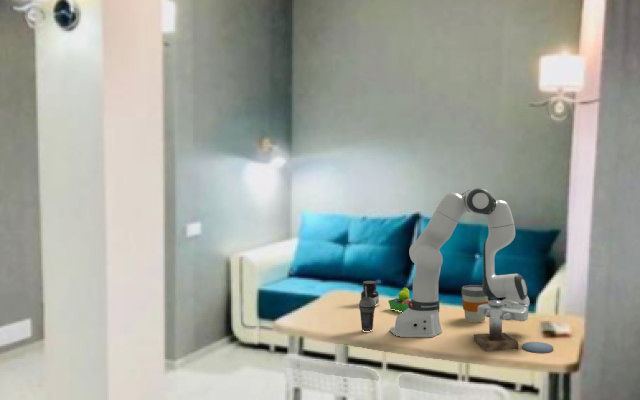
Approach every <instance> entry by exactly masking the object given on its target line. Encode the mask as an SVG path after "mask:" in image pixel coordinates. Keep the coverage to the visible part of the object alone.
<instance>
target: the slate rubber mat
mask: <svg viewBox="0 0 640 400" xmlns="http://www.w3.org/2000/svg"><path fill="white" fill-rule="evenodd" d="M521 346H522V347H521V348H522V350H524V351H527V352H530V353H533V354H534V353H535V354H547V353H552V352H553V351H554V346H553V345H552V344H549V343H546V342H540V341H528V342H524V343H522V344H521Z"/></svg>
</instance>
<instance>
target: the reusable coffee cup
mask: <svg viewBox="0 0 640 400" xmlns="http://www.w3.org/2000/svg"><path fill="white" fill-rule="evenodd" d="M461 296H462V299H461V301H462V302H461V303H462V309H463V312H464V320H465V321H467V322H469V323H482V322H485V321H486V316H484V315H479V314H478V306H479V305H482V304H488V301H489V300H490V299H489V297H487V296H486V295H485V294H484V293H483V289H482V285H479V284H468V285H463V286H462V287H461Z"/></svg>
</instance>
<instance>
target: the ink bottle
mask: <svg viewBox="0 0 640 400" xmlns="http://www.w3.org/2000/svg"><path fill="white" fill-rule="evenodd" d="M365 286H366V291H367V296H368V297H371V298H372V299H373V300H374V302H375V305H376V304H378V303H379V300H380V299H379V297H380V293H379V291H377V281H376V280H375V281H374V280H365V281H362V289H363V290H362V292H361V293H360V300H361V299H362V298H363V297H366V293H365ZM379 304H380V303H379Z"/></svg>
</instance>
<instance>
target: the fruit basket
mask: <svg viewBox="0 0 640 400" xmlns="http://www.w3.org/2000/svg"><path fill="white" fill-rule="evenodd" d="M397 295H398V297H395V298H393V299H389V300H388V301H387V302H388V304H389V307H390V310H391V309H395V310H399V311H402V312H404V311H405V310H406V309H408V304H406V303H405V300H406V299H409V300H410V290H409V289H408V287H403V288H402V289H401V291H399V292H398V294H397Z"/></svg>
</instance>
